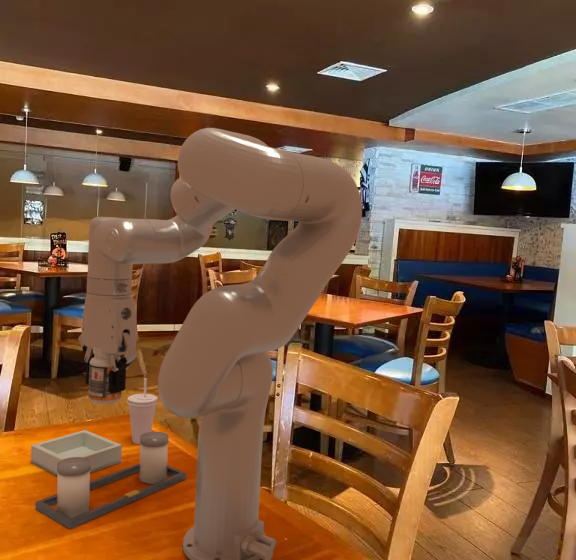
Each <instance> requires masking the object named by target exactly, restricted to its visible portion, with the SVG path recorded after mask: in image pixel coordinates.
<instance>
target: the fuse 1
mask: <svg viewBox="0 0 576 560" xmlns="http://www.w3.org/2000/svg"><path fill="white" fill-rule="evenodd" d="M90 469H91V461H90V460H89V459H87V458H83V457H71V458H66V459H63V460H61V461H59V462H58V463H57V472H58V476H57V480H56V481H57V482H56V483H57V486H56V487H57V488H56V492H57V493H56V494H57V503H56V510H58V511H60V512H62V513H63V514H65V515H67V516H69V517H70V518H73V517H75V516H78V515H80V514H83V513H85V512H87V511H90V491H91V490H90V481H91V473H90Z"/></svg>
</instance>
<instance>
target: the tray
mask: <svg viewBox="0 0 576 560" xmlns="http://www.w3.org/2000/svg"><path fill="white" fill-rule="evenodd" d="M30 447H31V448H30V450H31V452H30V454H31V455H30V463H31V464H32V465H34V466H37V467H38V468H40V469H42V470H44V471H46V472H48V473H50V474H52V475H54V476H56V477H58V472H57V463H58V462H59V461H61V460H63V459H66V458H71V457H83V458H87V459H89V460H90V461H91V469H90V474H92V473H94V472H98V471H99V470H102V469H105V468H106V469H107V468H108V467H111V466H114V465H117V464H120V463H122V450H123V449H122V448H123V445H122V444H120V443H118V442H115V441H113V440H110V439H109V438H106V437H104V436H100V435H98V434H97V433H94V432H91V431H88V430H87V429H84V430H81V431H76V432H73V433H69V434H66V435H62V436H59V437H55V438H52V439H49V440H46V441H42V442H39V443H38V442H37V443H35V444H31V445H30Z"/></svg>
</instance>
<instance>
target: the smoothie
mask: <svg viewBox="0 0 576 560" xmlns="http://www.w3.org/2000/svg"><path fill="white" fill-rule="evenodd" d="M147 383H148V378H147V377H144V379H143V393H135V394H132V395H129V396H128V397H127V400H126V403H127V404H128V411H129V420H130V429H131V430H130V431H131V440H132V443H133V444H135V445H140V436H141V435H142V434H144V433H147V432H153V431H152V430H153V429H152V428H153V425H154V424H153V423H154V417H155V411H156V405H157V404H158V396H156V395H155V394H151V393H147V386H148V385H147Z"/></svg>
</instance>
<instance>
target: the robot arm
mask: <svg viewBox="0 0 576 560" xmlns="http://www.w3.org/2000/svg"><path fill="white" fill-rule="evenodd" d="M177 169H178V173H179V178H177V179H176V180H175V182H174V183H173V184H172V186H171V189H170V201H171V205H172V207H173V210H174V211H175V213H176V215H175V216H174V217H173V216H172V218H169V219H157V218H156V219H154V218H153V219H152V218H127V217H126V218H123V217H117V216H116V217H114V216H96V217H93V218H92V219H91V220H90V222H89V229H88V231H89V232H88V251H87V252H88V253H87V255H88V257H87V277H86V295H85V300H84V306H83V313H82V322H81V334H80V335H79V336H78V342H79V345H80V346H81V349H82V352H83V354H84V362H85V364H86V366H85V384H86V385H88V386H89V365H90V360H91V359H92V358H93V357H94V353H93V348H94V347H96V348H99V349H101V351H102V352H105V353H107V354H109V356H110V361H111V367H112V370H111V371H109V388H108V391H109V393H116V392H120V391H122V392H123V391H125V390H126V382H127V381H126V379H127V378H126V377H127V370H128V369H129V368H130V364H131V365H132V363H133V361H135V359H136V358H137V356H138V354H139V353H138V351H137V349H136V348H137V315H136V305H135V300H134V297H132V289H133V286H132V285H133V266H134V265H145V264H171V263H175V262H178V261H182V259H184V258H186V257H189V256H190V255H191V254H193V253H195V252H196V251H197V250H199V249H200V248H202V247H203V246H204V245H205V244H206V243H207V242H208V240H209V239H210V237H211V234H212V231H213V227H214V224H216V223H217V222H218V221H220V220H222V219H223V218H224V217H226V216H228V215H230V213H232V212H234V211H235V210H236V211H240V212H241V213H244V214H247V215H249V216H252V217H255V218H260V219H264V220H272V221H286V222H289V221H291V222H298V223H297V225H296V226H295V228H293V230H291V232H290V233H288V234H287V235H286V236H285V237H284V238H283V239H282V240H281V241H279V243H278V244H277V245H276V246H275V247H274V248H273V249H272V251H271V252H270V254H269V256H268V257H267V259H266V261H265V263H264V265H263V266H262V268H261V269H260V270H259V272H258V273H257V274H256V276H255V277H254V278H253V279H252V280H251V281H249V282H246V283H241V284H229V285H221V286H218V287H215V288H212V289H211V290H209V291H207V292H206V293H204V294H203V295H202V296H200V298H199V299H197V301H196V302H195V303H194V304H193V306H192V307H191V308H190V311H189V312H188V313H187V316H186V318H185V319H184V321H183V323H182V325H181V327H180V329H179V330H178V332H177V334H176V335H175V338H174V339H173V341H172V343H171V345H170V346H169V348H168V350H167V352H166V353H165V356H164V358H163V360H162V362H161V364H160V368H159V372H158V377H157V390H158V395H159V399H160V402H161V403H162V405H163V407H164V408H165V409H166V410H167V411H168V412H169V413H171V414H173V415H174V416H176V417H177V418H184V419H194V418H195V419H196V418H199V417H201V419H200V424H199V428H198V429H199V430H198V434H197V450H196V451H197V453H196V454H197V455H196V456H197V457H196V476H195V477H196V479H195V500H194V502H195V505H194V525H193V526H192V527H191V528H189V529H188V530H187V531H186V533H185V534H184V536H183V539H182V549H183V553H184V555H185V556H186V557H187V558H188V559H189V560H272V558H273V555H274V549H275V547H276V546H277V540H276V538H273V537H271V536H267V535H266V533H265V532H264V528H265V526H264V525H265V522H264V521H263V520H260V519H259V513H260V511H259V510H260V491H261V475H262V456H263V455H262V454H263V442H264V441H263V438H264V426H265V425H264V424H265V418H266V417H265V415H266V410H267V405H268V400H269V396H270V394H271V389H272V385H273V376H274V372H273V370H274V369H273V363H272V359H271V356H270V355H269V352H272V351H276V350H279V349H281V348H284V346H286V345H287V344H288V343H289V342H290V341H291V339H292V338H293V337H294V336H295V334H296V332H297V331H298V330H299V328H300V326H301V325H302V323H304V322H303V321H304V320H305V318H306V317H307V316H308V314H309V312H310V311H311V310H312V308H313V306H314V305H315V303H316V302H317V300H318V299H319V298H320V295H321V294H322V292H323V291H324V289H325V287H326V286H327V284H328V283H329V282H330V281H331V279H332V277H333V276H334V274H335V273H336V272H337V270H338V269H339V267H340V266H341V265H342V263H343V262H344V261H345V259H346V258H347V256H348V255H349V253H350V251H351V250H352V247H353V246H354V244H355V242H356V240H357V239H358V238H357V237H358V236H359V233H360V230H361V224H362V217H363V207H362V206H363V204H362V199H361V194H360V191H359V187H358V185H357V183H356V182H355V180H354V178H353V177H352V176H351V174H350V173H349V172H348V170H346V169H345V168H344V167H342V166H341V165H339V164H338V163H335V162H334V161H331V160H328V159H325V158H321V157H318V156H313V155H309V154H303V153H299V152H294V151H289V150H286V149H285V150H284V149H279V148H275V147H271V146H269V145H267V144H266V143H265V142H264V141H263V140H261V139H259V138H256V137H253V136H251V135H248V134H243V133H239V132H233V131H230V130H226V129H221V128H216V127H205V128H201V129H199V130H195V131H194V132H192V134H190V135H189V136H188V137H187V138H186V139H185V140H184V142H183V143H182V145H181V147H180V150H179V152H178V157H177ZM118 349H120V352H118ZM117 356H119V357H120V358H121V359H120V360H119V361H118V362H117Z"/></svg>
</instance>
